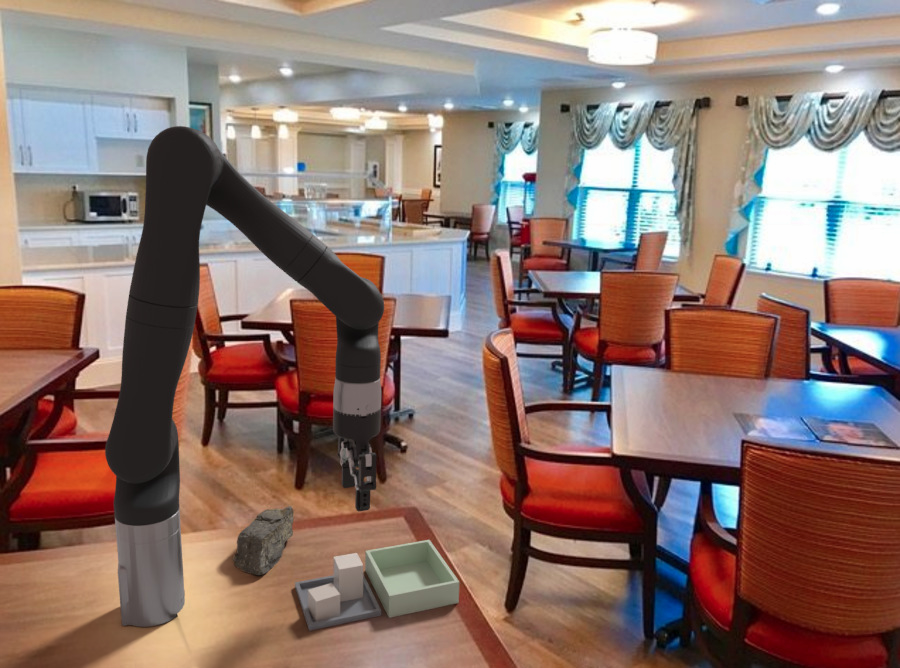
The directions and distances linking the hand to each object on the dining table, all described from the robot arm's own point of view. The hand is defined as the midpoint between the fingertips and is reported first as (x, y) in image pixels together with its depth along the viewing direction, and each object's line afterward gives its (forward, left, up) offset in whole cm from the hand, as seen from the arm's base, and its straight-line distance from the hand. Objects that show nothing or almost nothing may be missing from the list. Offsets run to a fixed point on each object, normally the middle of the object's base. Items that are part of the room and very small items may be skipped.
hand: (355, 498), depth 116 cm
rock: (-13, +16, -18) cm, 27 cm away
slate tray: (-4, -3, -17) cm, 18 cm away
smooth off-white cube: (-6, -5, -17) cm, 19 cm away
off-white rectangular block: (-1, -1, -17) cm, 17 cm away
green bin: (+9, -3, -17) cm, 20 cm away
